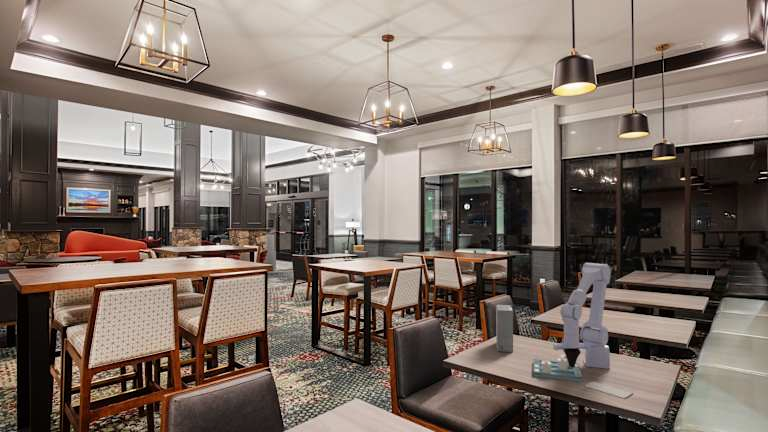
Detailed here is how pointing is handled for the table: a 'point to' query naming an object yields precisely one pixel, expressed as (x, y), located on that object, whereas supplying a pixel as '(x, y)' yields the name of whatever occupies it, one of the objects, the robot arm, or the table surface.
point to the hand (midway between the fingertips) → (571, 366)
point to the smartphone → (609, 390)
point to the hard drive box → (504, 328)
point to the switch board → (557, 371)
